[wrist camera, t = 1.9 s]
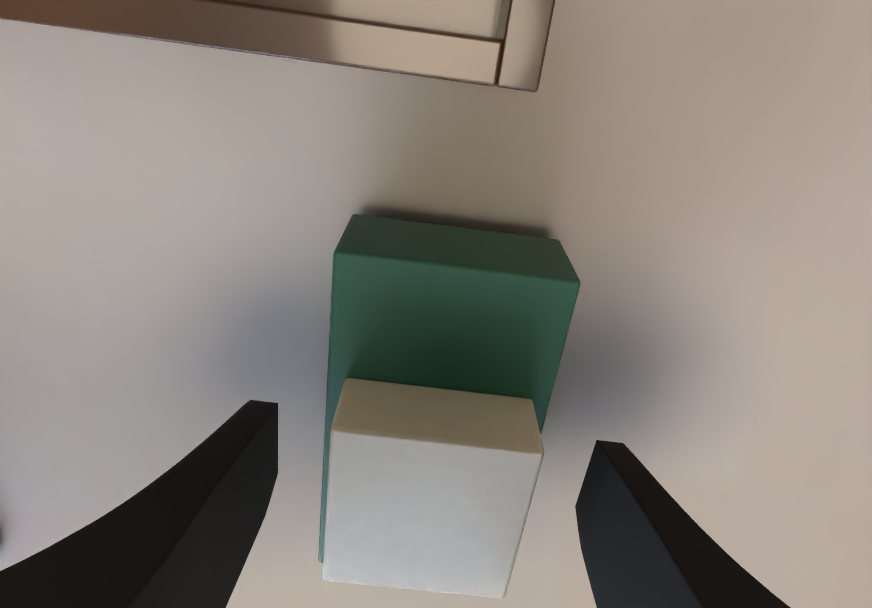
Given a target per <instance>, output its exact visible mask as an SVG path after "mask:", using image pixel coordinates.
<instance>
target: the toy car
mask: <svg viewBox="0 0 872 608" xmlns="http://www.w3.org/2000/svg"><path fill="white" fill-rule="evenodd" d="M579 287H580V280H579V278H578V276H577V274H576V272H575V270H574V268H573V266H572V264H571V263H570V261H569V259H568V257H567V255H566V253H565V251H564V249H563V247H562V245H561V243H560V241H558V240H555V239H547V238H540V237H532V236H524V235H516V234H508V233H500V232H492V231H485V230H477V229H469V228H461V227H453V226H445V225H437V224H430V223H422V222H414V221H406V220H398V219H390V218H382V217H375V216H367V215H359V214H354V215H352V217H351V219H350V221H349V223H348V225H347V227H346V229H345V231H344V233H343V235H342V237H341V239H340V241H339V243H338V245H337V247H336V249H335V251H334V254H333V274H332V295H331V315H330V335H329V355H328V375H327V395H326V415H325V436H324V456H323V476H322V496H321V516H320V536H319V556H318V559H319V562H321V563H323V579H324V580H326V581H333V582H343V583H353V584H363V585H373V586H383V587H393V588H403V589H412V590H422V591H432V592H442V593H452V594H462V595H472V596H482V597H492V598H504V597H505V595H506V591H507V588H508V584H509V580H510V577H511V573H512V569H513V566H514V562H515V558H516V555H517V551H518V547H519V544H520V540H521V536H522V533H523V529H524V525H525V522H526V518H527V514H528V511H529V507H530V503H531V500H532V496H533V492H534V488H535V485H536V481H537V477H538V474H539V470H540V466H541V463H542V459H543V455H544V449H543V445H542V440H541V436H540V435H541V431H542V427H543V424H544V420H545V416H546V412H547V408H548V405H549V401H550V397H551V393H552V390H553V386H554V382H555V378H556V374H557V371H558V367H559V363H560V359H561V355H562V352H563V348H564V344H565V340H566V336H567V333H568V329H569V325H570V321H571V317H572V314H573V310H574V306H575V302H576V299H577V295H578V291H579Z"/></svg>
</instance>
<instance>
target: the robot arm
mask: <svg viewBox="0 0 872 608" xmlns="http://www.w3.org/2000/svg"><path fill="white" fill-rule="evenodd" d="M277 474H278V403H272V402H263V401H255V400H250V401H249V402H247V403H246V404H245V405H243V406H242V407H241V408H240V409H239V410H238V411H237V412H236V413H235V414H234V415H233V416H231V417H230V418H229V419H228V420H227V421H226V422H225V423H224V424H223V425H222V426H220V427H219V428H218V429H217V430H216V431H215V432H214V433H213V434H211V435H210V436H209V437H208V438H207V439H206V440H205V441H203V442H202V443H201V444H200V445H199V446H197V447H196V448H195V449H194V450H193V451H192V452H190V453H189V454H188V455H187V456H186V457H184V458H183V459H182V460H181V461H180V462H178V463H177V464H176V465H174V466H173V467H172V468H171V469H169V470H168V471H167V472H165V473H164V474H163V475H161V476H160V477H159V478H157V479H156V480H155V481H154V482H152V483H151V484H150V485H148V486H147V487H146V488H144V489H143V490H141V491H140V492H138V493H137V494H136V495H134V496H133V497H131V498H130V499H128V500H127V501H125V502H124V503H123V504H121V505H119V506H118V507H116V508H115V509H113V510H112V511H110V512H109V513H107V514H106V515H104V516H102V517H101V518H99V519H98V520H96V521H94V522H93V523H91V524H89V525H87V526H85V527H84V528H82V529H80V530H78V531H77V532H75V533H73V534H71V535H69V536H68V537H66V538H64V539H62V540H61V541H59V542H57V543H55V544H53V545H52V546H50V547H48V548H46V549H44V550H42V551H40V552H38V553H36V554H34V555H32V556H30V557H29V558H27V559H25V560H23V561H21V562H19V563H17V564H14V565H12V566H10V567H8V568H6V569H4V570H2V571H0V608H226V605H227V603H228V601H229V599H230V596H231V594H232V592H233V589H234V587H235V585H236V582H237V580H238V578H239V575H240V573H241V571H242V569H243V566H244V564H245V562H246V559H247V557H248V555H249V552H250V550H251V548H252V546H253V543H254V541H255V539H256V536H257V534H258V531H259V529H260V527H261V524H262V522H263V520H264V517H265V515H266V511H267V508H268V505H269V502H270V498H271V495H272V492H273V488H274V485H275V481H276V478H277ZM575 507H576V515H577V523H578V531H579V537H580V544H581V550H582V554H583V558H584V562H585V566H586V569H587V573H588V577H589V580H590V584H591V588H592V591H593V595H594V599H595V602H596V606H597V608H790V607H789V606H788V605H786V604H785V603H784V602H783V601H781V600H780V599H779V598H778V597H776V596H775V595H774V594H773V593H771V592H770V591H769V590H768V589H767V588H766V587H764V586H763V585H762V584H761V583H760V582H759V581H757V580H756V579H755V578H754V577H753V576H752V575H750V574H749V573H748V572H747V571H746V570H745V569H743V568H742V567H741V566H740V565H739V564H738V563H737V562H736V561H735V560H733V559H732V558H731V557H730V556H729V555H728V554H727V553H726V552H725V551H724V550H723V549H722V548H721V547H720V546H719V545H718V544H717V543H716V542H715V541H714V540H713V539H712V538H711V537H709V536H708V535H707V534H706V533H705V532H704V531H703V530H702V529H701V528H700V527H699V526H698V525H697V523H696V522H695V521H694V520H693V519H692V518H691V517H690V516H689V515H688V514H687V513H686V512H685V511H684V510H683V509H682V508H681V507H680V506H679V505H678V503H677V502H676V501H675V500H674V499H673V498H672V497H671V496H670V495H669V494H668V492H667V491H666V490H665V489H664V488H663V487H662V486H661V485H660V484H659V482H658V481H657V480H656V479H655V478H654V477H653V476H652V475H651V473H650V472H649V471H648V470H647V469H646V468H645V467H644V466H643V464H642V463H641V462H640V461H639V460H638V459H637V458H636V456H635V455H634V454H633V453H632V452H631V451H630V450H629V449H628V448H627V447H626V446H625V445H624V444H623V443H618V442H609V441H600V440H597V441H596V444H595V447H594V450H593V453H592V456H591V459H590V462H589V466H588V469H587V472H586V475H585V478H584V481H583V484H582V487H581V490H580V493H579V497H578V500H577V503H576V506H575Z"/></svg>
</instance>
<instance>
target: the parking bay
mask: <svg viewBox="0 0 872 608" xmlns="http://www.w3.org/2000/svg"><path fill="white" fill-rule="evenodd" d="M554 5H555V0H0V19H7V20H14V21H22V22H29V23H36V24H44V25H51V26H58V27H65V28H73V29H80V30H87V31H94V32H102V33H109V34H116V35H123V36H131V37H138V38H145V39H153V40H160V41H167V42H174V43H182V44H189V45H196V46H203V47H211V48H218V49H225V50H232V51H240V52H247V53H254V54H262V55H269V56H276V57H283V58H291V59H298V60H305V61H312V62H320V63H327V64H334V65H342V66H349V67H356V68H363V69H371V70H378V71H385V72H392V73H400V74H407V75H414V76H421V77H429V78H436V79H443V80H451V81H458V82H465V83H472V84H480V85H487V86H495V85H496V86H497V87H501V88H508V89H516V90H523V91H530V92H537V90H538V87H539V82H540V77H541V71H542V66H543V61H544V56H545V51H546V46H547V41H548V35H549V30H550V25H551V20H552V15H553V10H554Z"/></svg>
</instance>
